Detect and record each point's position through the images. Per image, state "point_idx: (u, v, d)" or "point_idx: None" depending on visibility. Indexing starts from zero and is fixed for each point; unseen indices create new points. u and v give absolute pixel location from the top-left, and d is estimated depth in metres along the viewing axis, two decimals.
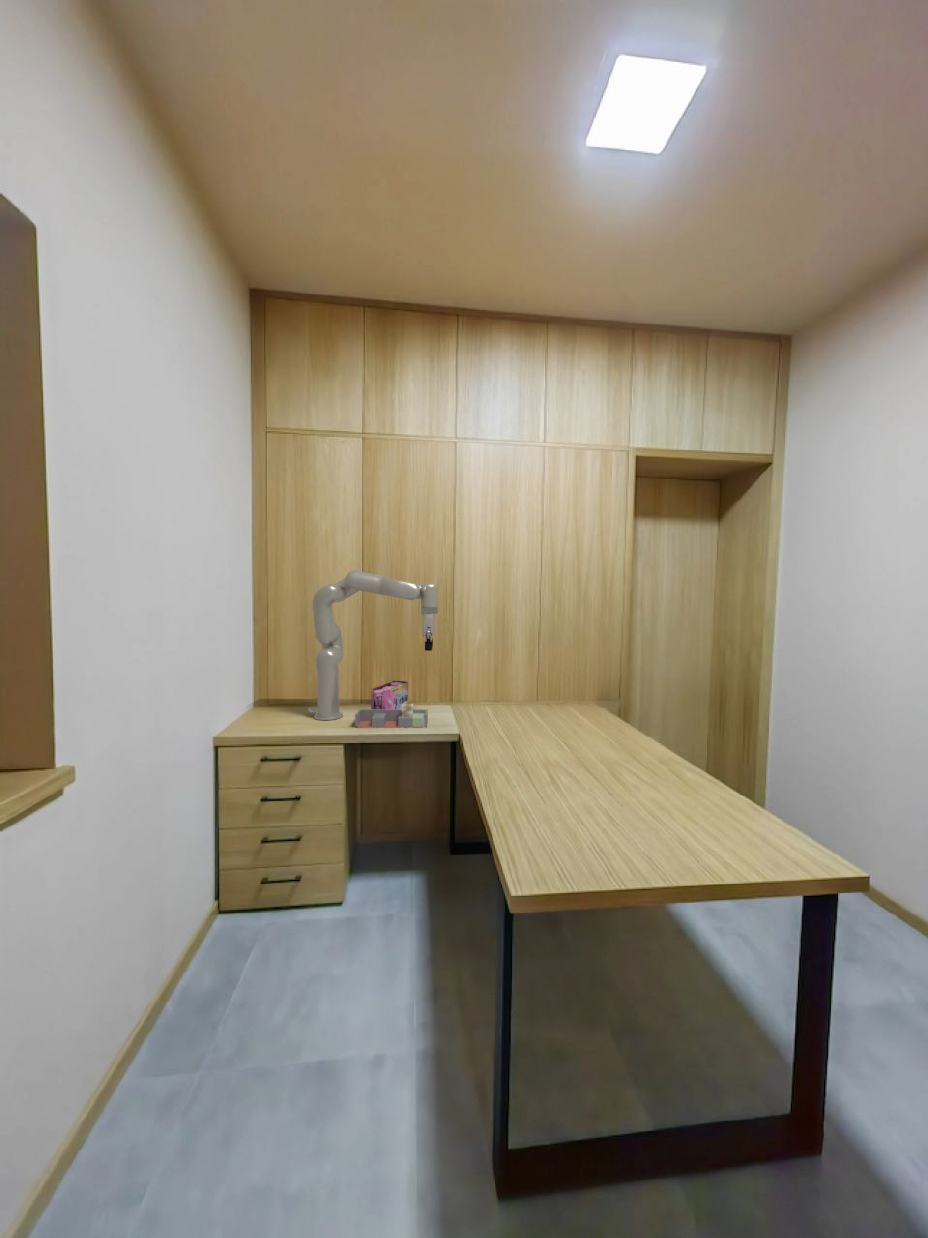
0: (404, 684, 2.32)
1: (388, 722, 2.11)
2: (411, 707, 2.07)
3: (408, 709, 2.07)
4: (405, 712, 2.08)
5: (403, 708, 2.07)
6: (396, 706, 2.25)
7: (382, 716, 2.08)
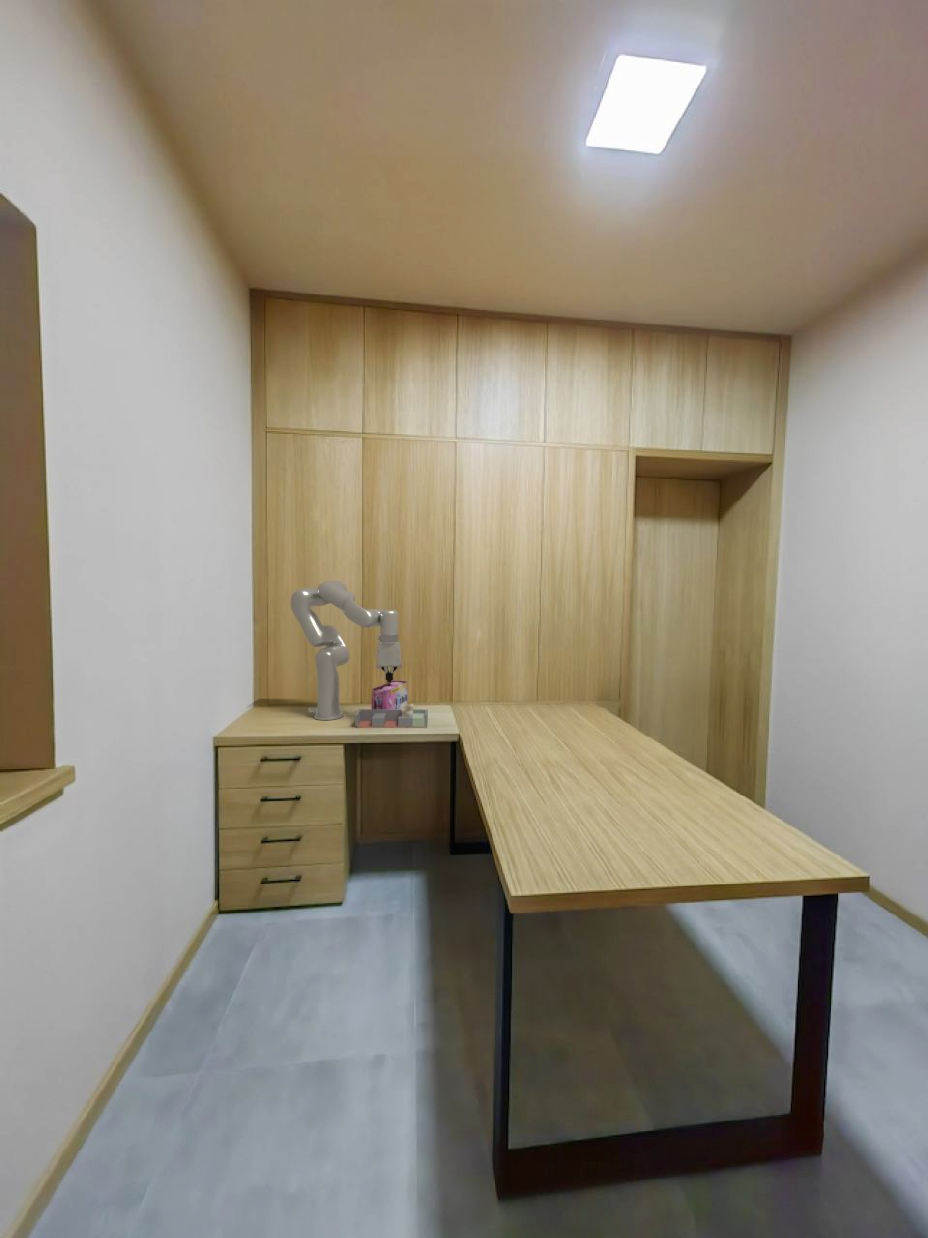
0: (404, 684, 2.33)
1: (388, 722, 2.11)
2: (411, 707, 2.07)
3: (408, 709, 2.07)
4: (405, 712, 2.08)
5: (403, 708, 2.07)
6: (396, 706, 2.25)
7: (382, 716, 2.08)
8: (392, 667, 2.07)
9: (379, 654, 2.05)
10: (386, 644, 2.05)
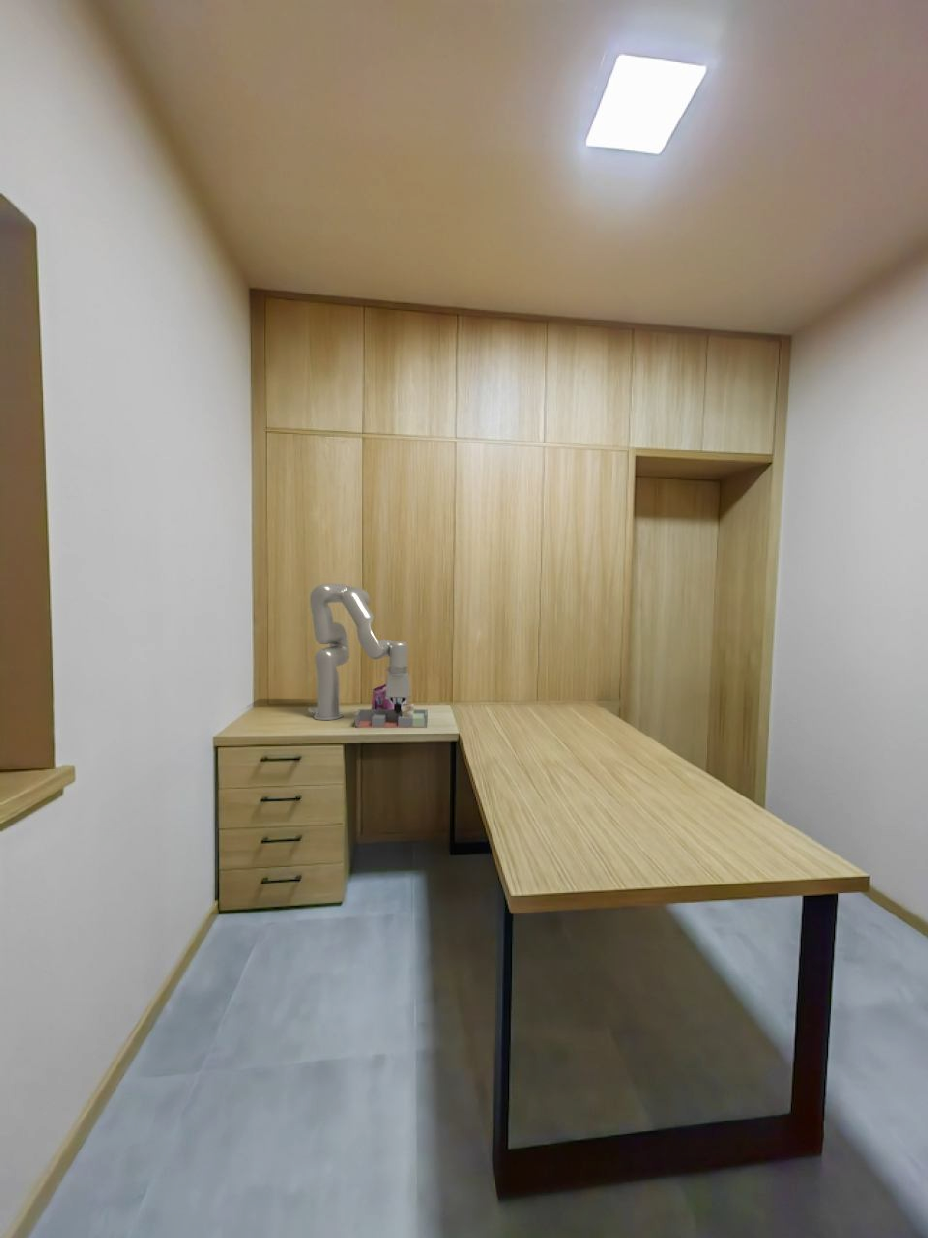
0: None
1: (388, 722, 2.11)
2: (412, 707, 2.07)
3: (409, 709, 2.07)
4: (406, 712, 2.08)
5: (404, 708, 2.07)
6: None
7: (382, 716, 2.08)
8: (401, 698, 2.08)
9: (388, 685, 2.06)
10: (395, 675, 2.06)
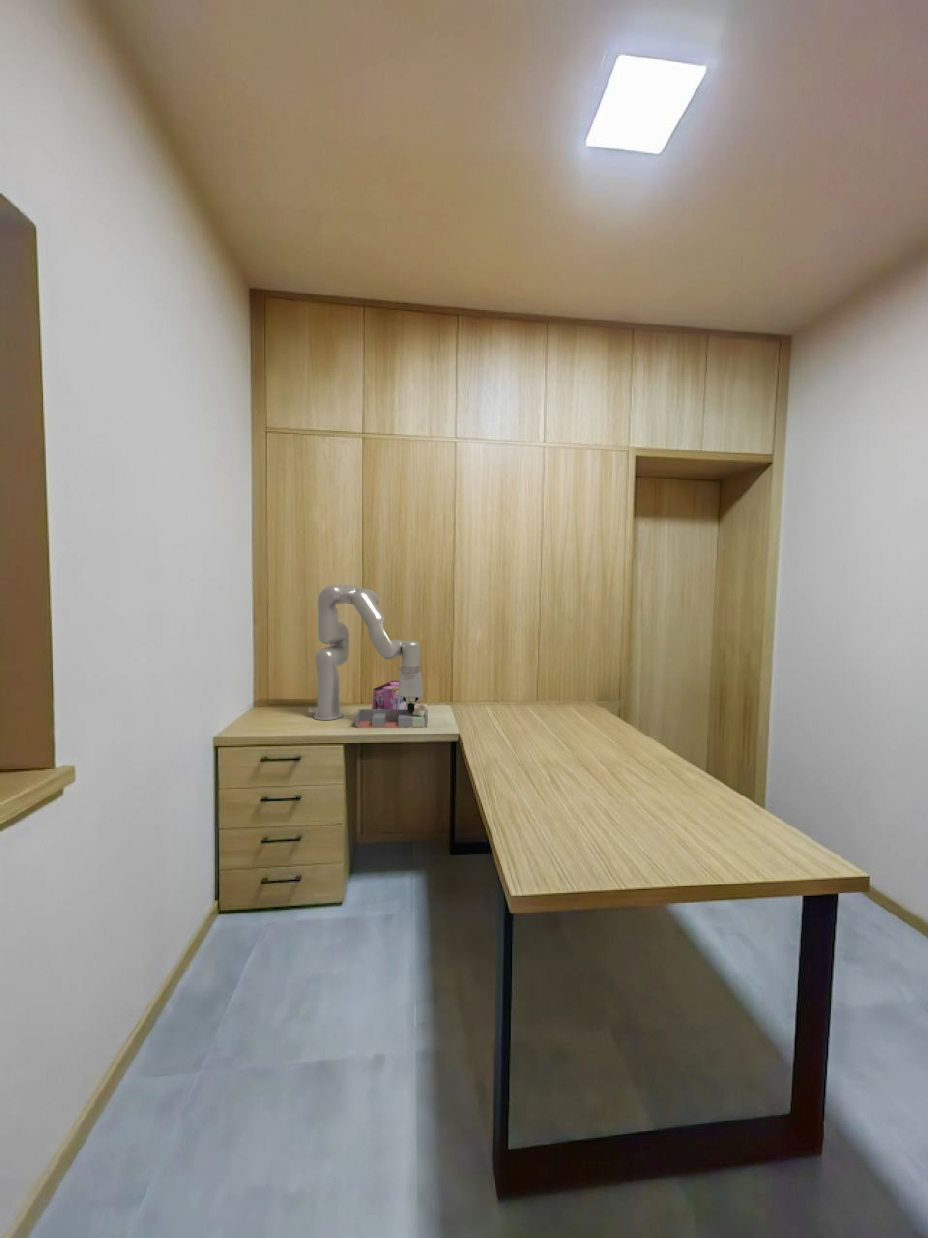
0: None
1: (388, 722, 2.11)
2: (425, 707, 2.07)
3: (421, 708, 2.07)
4: (417, 710, 2.07)
5: (417, 706, 2.07)
6: (397, 706, 2.26)
7: (382, 716, 2.08)
8: (414, 698, 2.08)
9: (401, 685, 2.06)
10: (408, 675, 2.06)
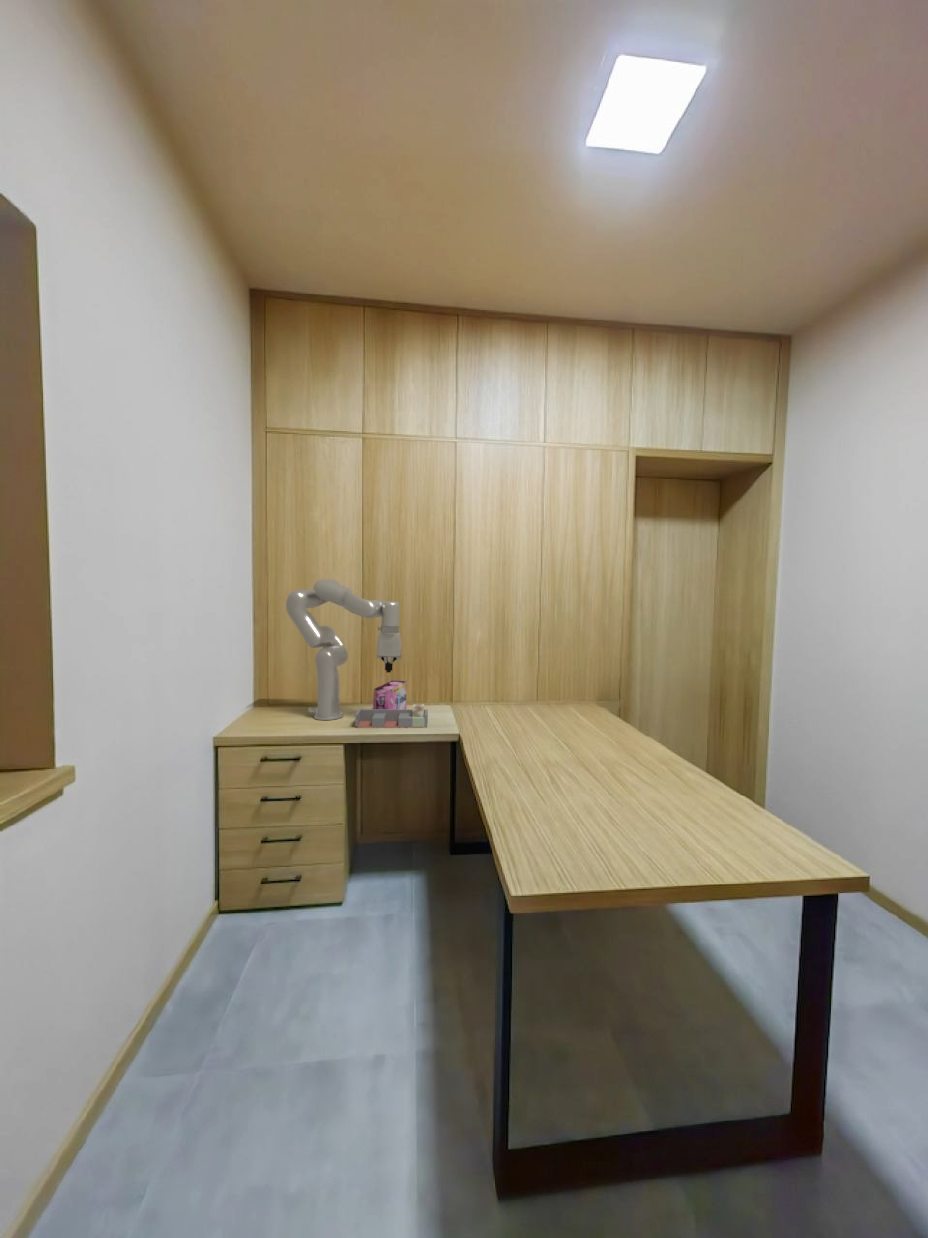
0: (403, 684, 2.34)
1: (388, 722, 2.11)
2: (422, 707, 2.07)
3: (419, 709, 2.07)
4: (416, 712, 2.07)
5: (414, 708, 2.07)
6: (397, 706, 2.26)
7: (382, 716, 2.08)
8: (392, 658, 2.10)
9: (379, 644, 2.08)
10: (387, 634, 2.08)
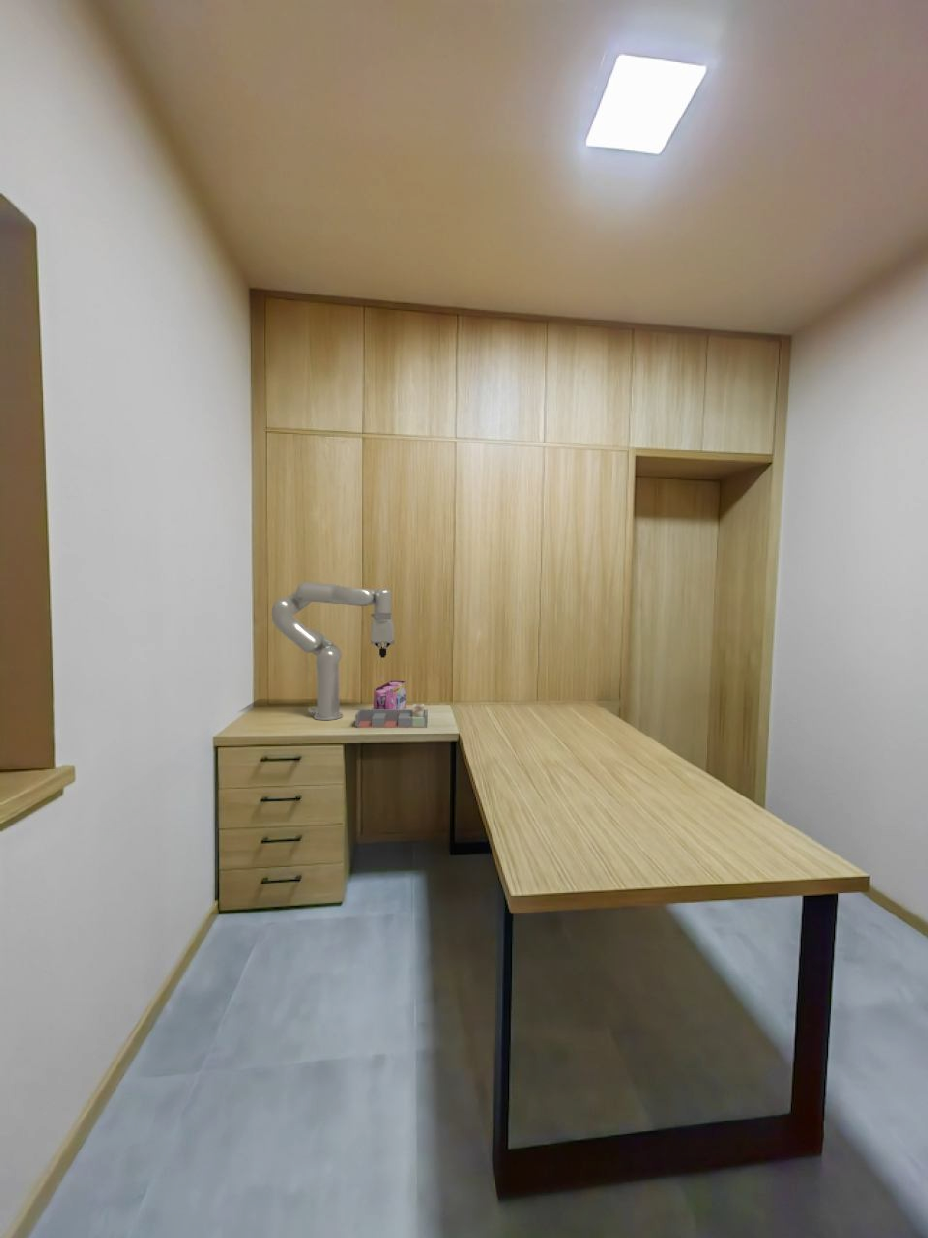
0: (403, 683, 2.34)
1: (388, 722, 2.11)
2: (422, 707, 2.07)
3: (419, 709, 2.07)
4: (416, 712, 2.07)
5: (414, 708, 2.07)
6: (397, 705, 2.26)
7: (382, 716, 2.08)
8: (385, 643, 2.20)
9: (373, 631, 2.18)
10: (380, 621, 2.18)
